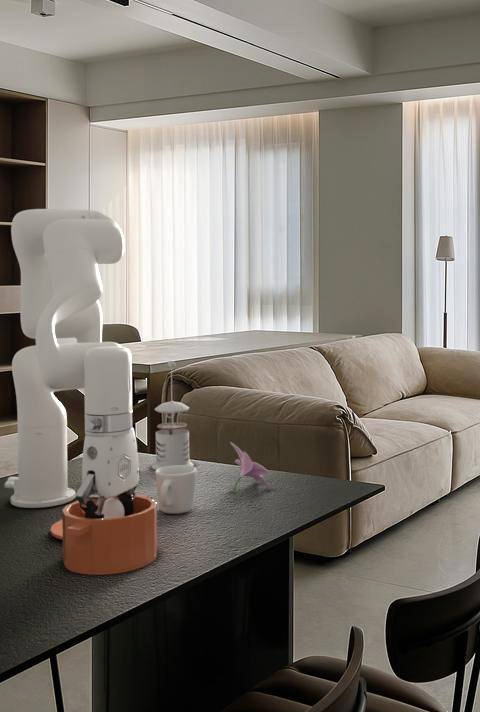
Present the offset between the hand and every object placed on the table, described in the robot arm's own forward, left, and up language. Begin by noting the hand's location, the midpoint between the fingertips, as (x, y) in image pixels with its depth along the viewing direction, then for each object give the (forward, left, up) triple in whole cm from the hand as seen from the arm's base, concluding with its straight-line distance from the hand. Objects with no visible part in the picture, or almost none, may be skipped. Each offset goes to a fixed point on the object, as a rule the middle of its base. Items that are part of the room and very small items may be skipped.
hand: (110, 530), depth 139 cm
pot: (0, 0, -5) cm, 5 cm away
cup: (-3, +26, -5) cm, 27 cm away
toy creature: (0, 0, -2) cm, 2 cm away
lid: (-11, +12, -4) cm, 16 cm away
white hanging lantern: (-23, +61, -5) cm, 65 cm away
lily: (+4, +46, -5) cm, 46 cm away
